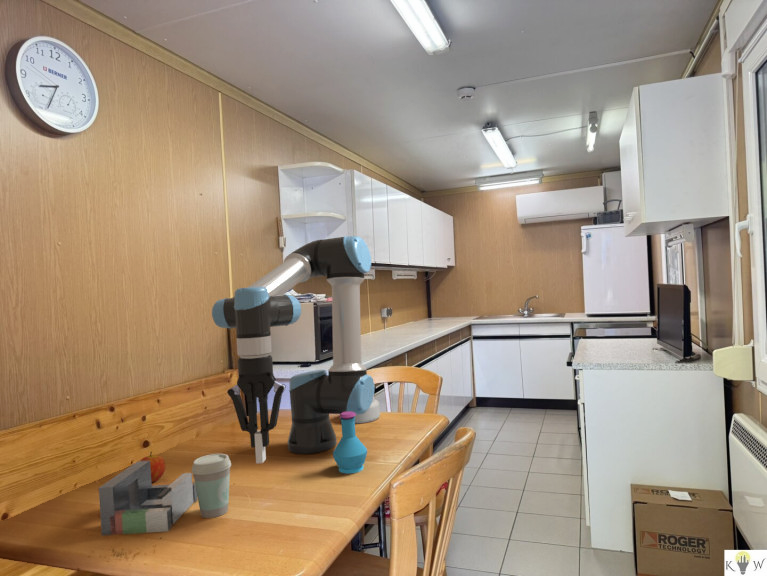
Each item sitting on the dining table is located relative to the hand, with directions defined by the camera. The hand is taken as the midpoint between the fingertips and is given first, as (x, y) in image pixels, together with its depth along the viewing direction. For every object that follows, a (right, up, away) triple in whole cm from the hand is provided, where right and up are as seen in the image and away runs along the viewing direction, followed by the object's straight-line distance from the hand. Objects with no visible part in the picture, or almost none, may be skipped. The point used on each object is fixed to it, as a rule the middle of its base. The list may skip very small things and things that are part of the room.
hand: (261, 461), depth 111 cm
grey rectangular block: (-22, -12, -1) cm, 25 cm away
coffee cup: (-11, -12, 0) cm, 16 cm away
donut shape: (+19, -10, +74) cm, 77 cm away
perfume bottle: (+19, -10, +22) cm, 31 cm away
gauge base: (-25, -13, +1) cm, 28 cm away
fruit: (-35, -14, +23) cm, 44 cm away
